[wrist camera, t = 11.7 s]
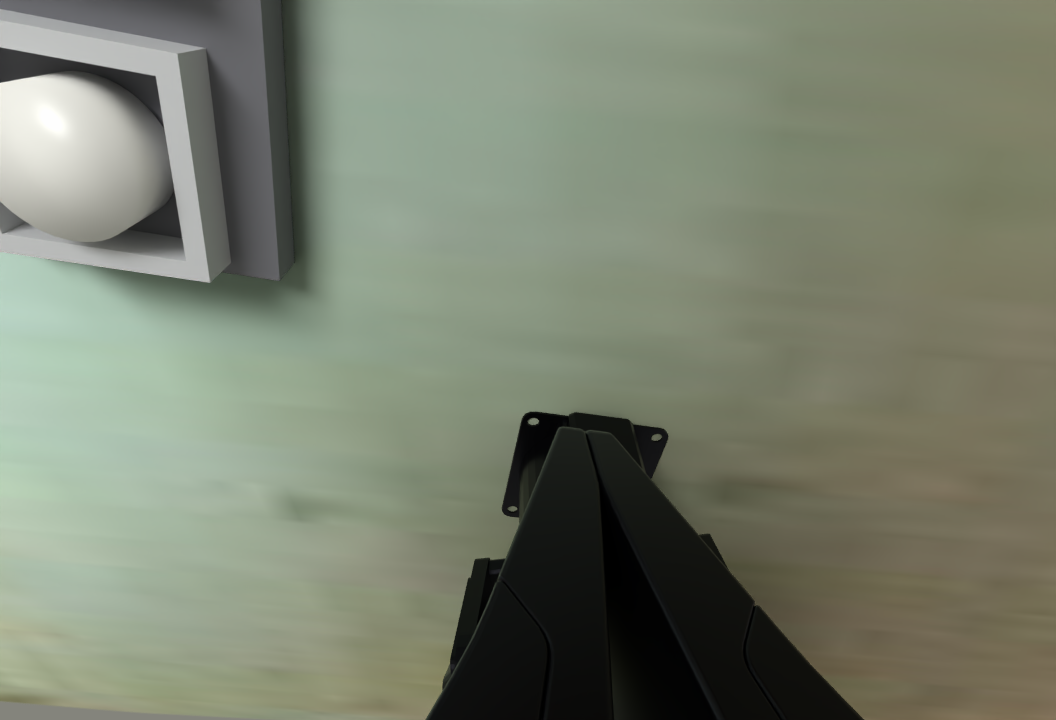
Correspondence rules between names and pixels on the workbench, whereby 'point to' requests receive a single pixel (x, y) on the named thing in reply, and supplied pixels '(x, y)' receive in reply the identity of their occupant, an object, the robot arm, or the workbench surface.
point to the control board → (176, 127)
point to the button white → (80, 156)
